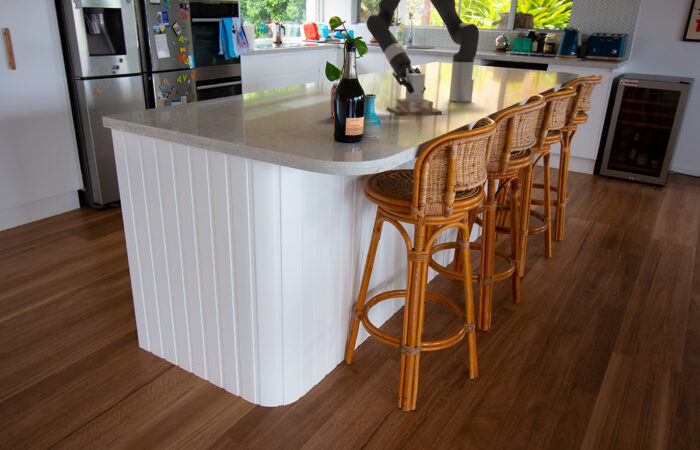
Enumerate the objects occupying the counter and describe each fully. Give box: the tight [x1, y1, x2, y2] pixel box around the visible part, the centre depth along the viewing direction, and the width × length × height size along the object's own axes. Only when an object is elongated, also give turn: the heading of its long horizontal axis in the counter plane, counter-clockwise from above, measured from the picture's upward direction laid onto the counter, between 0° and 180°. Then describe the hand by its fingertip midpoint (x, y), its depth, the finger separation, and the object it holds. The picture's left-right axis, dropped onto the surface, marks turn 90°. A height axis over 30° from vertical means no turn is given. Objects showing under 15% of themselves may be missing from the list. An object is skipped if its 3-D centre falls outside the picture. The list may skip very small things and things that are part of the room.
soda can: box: [330, 82, 339, 117], centre depth 204 cm, size 7×7×12 cm
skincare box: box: [405, 73, 426, 102], centre depth 216 cm, size 6×4×12 cm
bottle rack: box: [386, 97, 443, 117], centre depth 218 cm, size 18×14×5 cm
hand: (418, 91), depth 215 cm, fingers closed on skincare box, 6 cm apart
